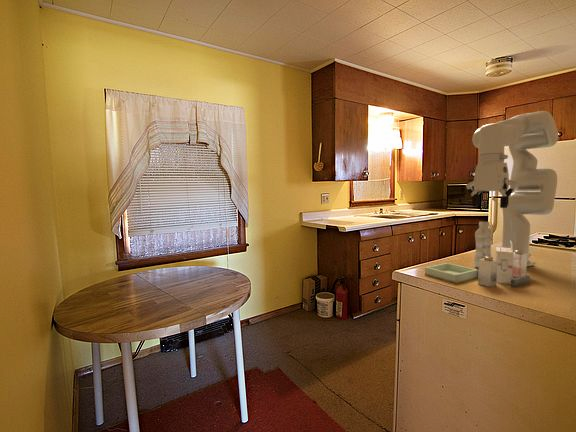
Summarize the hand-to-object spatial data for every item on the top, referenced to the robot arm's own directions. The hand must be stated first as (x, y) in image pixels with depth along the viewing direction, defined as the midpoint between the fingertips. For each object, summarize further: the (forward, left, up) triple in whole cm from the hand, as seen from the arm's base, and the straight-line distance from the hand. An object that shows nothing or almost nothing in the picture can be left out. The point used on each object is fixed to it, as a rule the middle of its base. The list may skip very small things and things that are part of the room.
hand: (489, 207), depth 108 cm
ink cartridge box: (-5, +3, -28) cm, 28 cm away
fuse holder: (-5, +3, -27) cm, 28 cm away
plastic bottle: (-15, -10, -28) cm, 33 cm away
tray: (+6, -10, -27) cm, 30 cm away
